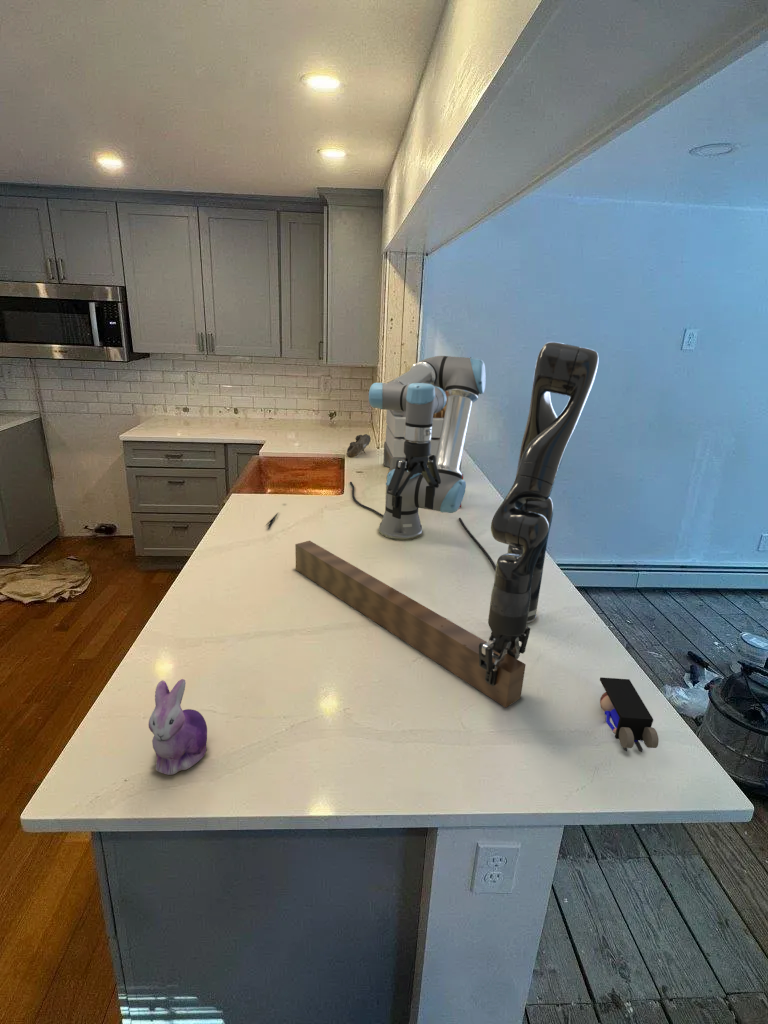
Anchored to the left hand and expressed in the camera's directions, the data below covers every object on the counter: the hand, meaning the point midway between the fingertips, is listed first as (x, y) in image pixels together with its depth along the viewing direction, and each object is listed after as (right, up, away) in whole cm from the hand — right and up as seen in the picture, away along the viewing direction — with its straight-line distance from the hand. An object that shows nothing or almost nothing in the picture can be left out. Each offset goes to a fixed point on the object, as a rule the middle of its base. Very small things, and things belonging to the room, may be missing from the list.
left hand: (413, 512), depth 164 cm
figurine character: (+37, -42, -55) cm, 79 cm away
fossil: (-22, +32, +142) cm, 147 cm away
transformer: (+9, +19, +111) cm, 113 cm away
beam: (-7, -28, -21) cm, 36 cm away
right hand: (+16, -34, -47) cm, 60 cm away
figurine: (-43, -42, -66) cm, 90 cm away
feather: (-49, -2, +46) cm, 67 cm away
